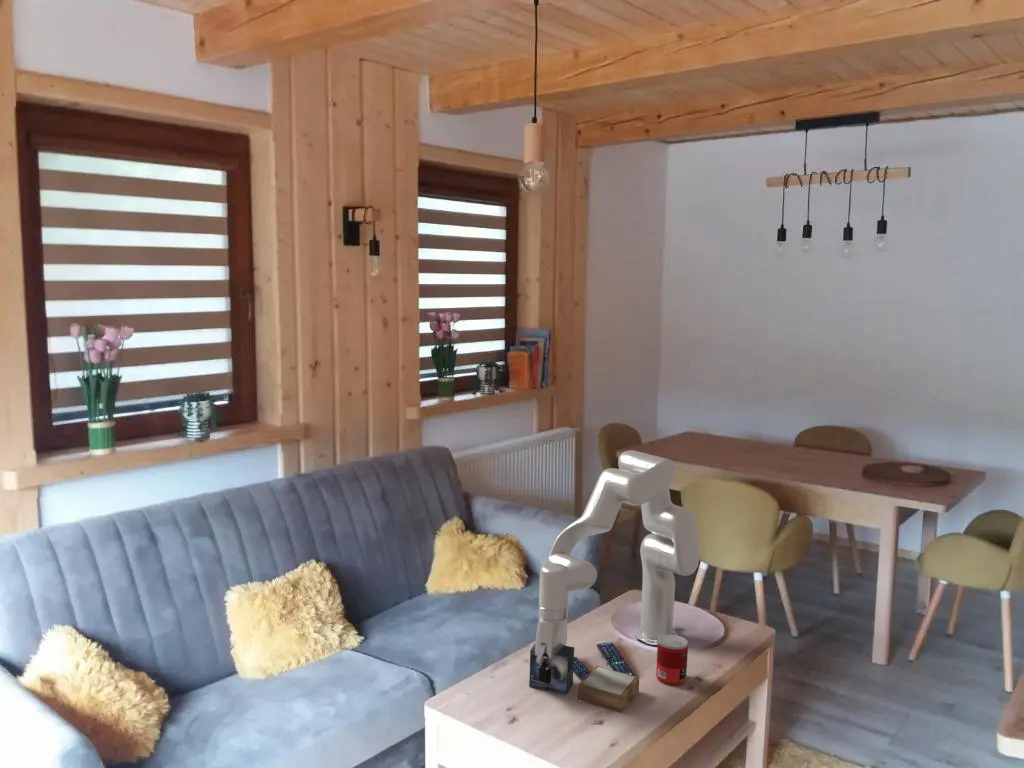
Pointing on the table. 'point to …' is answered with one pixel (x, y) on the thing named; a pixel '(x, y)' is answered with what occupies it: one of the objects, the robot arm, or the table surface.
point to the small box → (554, 670)
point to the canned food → (672, 659)
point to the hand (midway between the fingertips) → (551, 675)
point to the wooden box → (608, 689)
